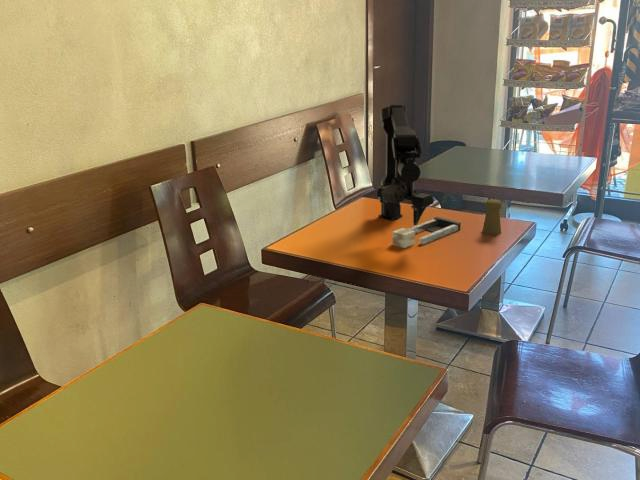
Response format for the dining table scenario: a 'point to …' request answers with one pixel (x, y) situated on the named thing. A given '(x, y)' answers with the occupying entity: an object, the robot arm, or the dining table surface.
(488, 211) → the olive tapered tower
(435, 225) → the trap channel
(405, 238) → the cream block
